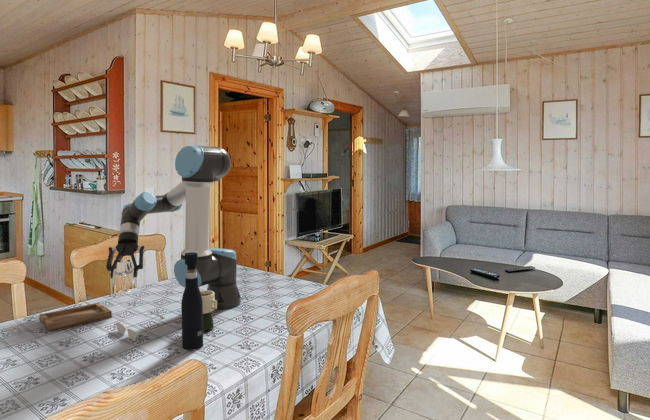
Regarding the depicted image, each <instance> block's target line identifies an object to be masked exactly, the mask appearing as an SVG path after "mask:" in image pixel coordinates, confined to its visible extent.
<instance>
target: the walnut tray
mask: <svg viewBox="0 0 650 420" xmlns="http://www.w3.org/2000/svg"><path fill="white" fill-rule="evenodd" d="M112 313H113V312H112V310H111V309H109V308H108V307H106V306H105V305H103V304H101V303H100V302H94V303H90V304H86V305H85V304H84V305H81V306H76V307H75V306H74V307H70V308H66V309H61V310H56V311H49V312H46V313H40V314H39V322H40V323H41V324H42V325H43V326H44V327H45V328H46V330H47V331H49V332H50V333H52V332H56V331H60V330H64V329H69V328H72V327H74V328H75V327H77V326H82V325H86V324H91V323H96V322H99V321H104V320H107V319H111V318H112V317H113V314H112Z"/></svg>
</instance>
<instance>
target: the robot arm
mask: <svg viewBox="0 0 650 420" xmlns="http://www.w3.org/2000/svg"><path fill="white" fill-rule="evenodd" d="M174 167H175V171H176V173H177V174H178V176H180V177H181V182H179V183H178V184H177V185H176V186H174V187H173V188H172V189H170V190H169V191H167V193H165V194H163V195H154V194H153V193H152V192H149V191H143V192H141V193H140V194H139V195H138V196H136V197H135V199H134V200H133V202H132V203H128V204H125V205H124V206H123V208H122V211H121V217H120V224H119V225H120V226H119V231H118V232H119V233H118V237H117V238H118V239H117V245H116V246H115V247H111V246H110V247H108V256H107V261H106V266H105V268H106V270H107V271H108V272H110V273H109V276H110V279H112V281H111V285H112V287H113V288H116V284H117V277H118V275H117V274H116V264H117V261H120V260H123V258H124V257H126V256H129V257H131V263H132V265H133V267H132V270H131V274H130V281H129V282H130V286H131V287H133V286H134V282H135V278H137V277H138V273H139V270H142V269H144V254H145V251H146V248H145V246H144V245H141V246H140V245H139V233H140V227H141V226H140V225H141V221H142V220H144V218H145V217H146V216H147V215H149V214H159V213H174V212H177V211H180V210H181V209H182V206H183V203H185V222H184V223H185V224H184V226H185V229H184V230H185V231H184V233H185V236H184V239H185V240H184V241H185V242H184V249H183V250H182V251H181V252H180V259H178V260H177V261H176V262H175V263H174V267H173V273H174V277H175V281H177V282H178V284H179V285H180V287H182V288H184V289H185V287H186V285H185V278H186V273H187V272H188V271H187V265H185V253H190V252H195V253H198V264H196V270H195V271H196V272H197V277H198V287H199V288H200V287H203V286H207V287H206V291H213V292H214V295H215V300H216V301H217V309H216V310H224V309H225V310H226V309H231V308H234V307H237V306H239V305H240V304H241V303H242V296H241V294H240V292H239V291H240V290H239V288H238V285H237V268H238V267H237V261H238V259H237V252H236V251H235V250H234V249H230V248H219V247H218V248H216V247H215V248H213V247H211V248H209V235H210V232H209V231H210V227H209V225H210V187H211V186H212V185H213V184H214V182H218V181H220V180H222V179H223V178H224V177H225V176H227V175H228V173H229V172H230V170H231V167H232V160H231V157H230V155H229V152H227V151H226V150H225V149H224V148H222V147H219V146H208V145H207V146H205V145H196V144H195V145H194V144H193V145H185V146H184V147H182V148H180V150H179V151H178V152H177V154H176V157H175V159H174ZM116 251H117V255H116V256H115V259H114V254H115V253H116ZM137 251H138V252H139V254H138V257H139V258H138V264H137V260H136V257H135V253H136V252H137ZM113 260H114V261H113Z"/></svg>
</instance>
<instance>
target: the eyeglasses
mask: <svg viewBox="0 0 650 420" xmlns="http://www.w3.org/2000/svg"><path fill="white" fill-rule="evenodd" d="M149 315H151V316H152V315H153V316H154V315H155V316H157V317H159V318H160V319H161V320H163V319H166V317H165V316H163V315H161V314H156V313H147V314H143V315H142V317H144V316H149ZM139 317H141V315H139V316H138V318H139ZM136 318H137V316H136V317H132V318H131V320H132V319H136ZM128 320H130V318H128V319H124V322H125V321H128ZM122 322H123V320H122V321H120V320H119V321H117V322H115V324H116V328H117V332H118V333H120V334H122V335H123V336H124V335H125V334H126V332H127V334H128V335H127V336H128V339H130V340H132V341H133V342H136V340H137V337H138V336H139V335H142V334H144V333H148V332H151V331H155V330H157V329H161V328H163V327H164V328H165V327H168V326H170V325H177V326H179V327H180V328H181V329H182V323H181V324H180V323H169V324H166V325H164V326H161V327H157V328H154V329H150V330H146V331H143V332H138V333H137V332H136V331H135V330H133V329H132V328H128V327H125V325H124V324H122Z"/></svg>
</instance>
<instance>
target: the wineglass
mask: <svg viewBox="0 0 650 420" xmlns="http://www.w3.org/2000/svg"><path fill="white" fill-rule="evenodd" d="M132 265H133V264H132V261H131V260H130V259H121V260H120V261H117V264H116V274H117V277H120V278H122V282H123V289H121V290H118V292H119V293H130V292H131V291H132V290H131V289H130V288H127V287H126V282H127V279H126V278H127V277H129V276H131V270H132V268H133V266H132Z"/></svg>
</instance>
